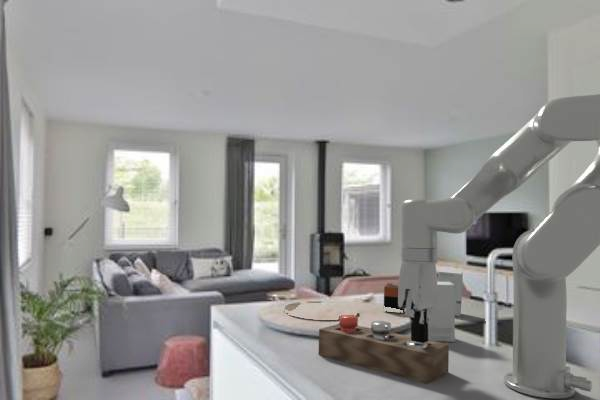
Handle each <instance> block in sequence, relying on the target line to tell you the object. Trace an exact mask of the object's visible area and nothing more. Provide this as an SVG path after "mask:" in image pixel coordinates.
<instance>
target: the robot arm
mask: <svg viewBox="0 0 600 400" xmlns="http://www.w3.org/2000/svg"><path fill="white" fill-rule="evenodd" d="M593 141H596V143H597V152H596V155H595V157H594V159H593V160H592V161H591V162H590V164H589V165H588V166H587V167H586V168H585V170H584V171H582V173H581V174H580V175H579V176H578V177H577V179H575V180H574V182H573V183H572V184H571V185H569V187H568V188H567V189H565V191H563V192H562V193H561V194H560V195H558V197H557V198H556V199H555V201H554V203H553V206H552V209H551V210H552V211H551V212H550V213H549V214H548V215H547V217H545V218H544V219H543V221H542V222H541V223H540V224H539V225H538V226H537V227H536V228H532V229H530V230H527V231H524V232H523V233H522V234H520V235H519V236H518V237H517V239H516V241H515V243H514V245H513V248H512V274H513V277H512V278H513V279H512V280H513V308H512V309H513V310H512V314H513V315H512V318H513V319H512V371H510V372H508V373H506V374H505V375H504V378H503V381H504V383H505V385H506V386H507V387H508V388H510V389H512V390H513V391H516V392H518V393H521V394H524V395H528V396H532V397H537V398H543V399H554V400H556V399H559V400H560V399H561V400H562V399H569V398H571V397H574V395H575V394H576V389H579V390H581V391H586V392H592V388H593V387H592V386H593V382H592V381H591V380H588V379H587V377H586V376H585V377H583V376H578V375H574V373H571V367H570V366H567V311H568V310H567V307H568V306H567V305H568V304H567V303H568V301H567V300H568V299H567V297H568V296H567V294H568V293H567V283H566V282H567V281H566V279H567V277H568V276H570V275H571V274H572V273H573V272H575V271H576V269H578V268H579V267H580V266H581V265H582V263H584V261H586V259H588V258H589V257H590V255H591V254H593V253H594V251H595V250H597V248H598V247H599V246H600V94H588V95H576V96H574V95H572V96H566V97H565V96H564V97H559V98H555V99H552V100H550V101H548V102H545V104H544V105H543V106H542V107H541V108H540V110H538V112H537V113H536V114H534V116H533V117H532V118H531V119H530V120H529V121H528V122H527V123H525V125H523V126H522V127H521V128H520V129H519V130H518V131H517V132H516V133H515V134H514V135H513V136H511V137H510V138H509V140H507V141H505V143H503V145H501V146H500V147H499V148H498V149H497V150H496V151H495V152H493V153H492V154H491V156H490V157H489V158H488V159H487V160H486V161H485V163H484V164H483V165H482V167H481V168H480V169H479V170H478V172H477V173H476V174H475V175H474V176H473V177H472V178H471V179H470V180H469V181H468V182H467V183H465V185H464V186H463V187H461V188H460V189H459V190H458V191H457V192H456V193H455V194H454V195H453V196H451V197H448V198H442V199H427V198H426V199H425V198H422V199H421V198H414V199H413V198H412V199H406V200H404V201H403V202H402V204H401V264H400V268H399V269H400V270H399V279H398V284H399V288H398V306H399V308H401V309H404V308H405V311H404V315H405V317H408V318H409V322H410V336H411V340H412V341H415V342H420V343H425V342H427V341H428V322H429V313H430V312H431V311H432V310H433V306H435V305H436V304H437V282H438V274H437V266H436V264H438V232H440V233H447V234H455V235H458V234H463V233H465V232H467V231H468V230H470V229H471V228H472V226H473V225H474V223H476V221H477V220H479V219H480V218H481V217H482V216H483V215H484V214H486V213H487V212H488V211H489V210H490V209H491V208H493V206H495V205H496V204H497V203H498V202H500V201H501V200H502V199H504V198H505V197H506V196H508V195H509V194H511V193H512V192H515V190H517V189H518V188H520V187H521V186H522V185H524V184H525V183H526V182H527V181H528V180H529V179H530V178H532V176H533V175H535V174H536V173H537V172H538V171H539V170H541V169H542V168H543V167H544V166H545V165H546V164H547V163H548V162H549V161H551V160H552V159H553V158H554V157H555V156H556V155H558V154H559V153H560V152H561V151H562V150H563V149H564V148H566V147H567V146H568V145H569V144H570V143H571V142H593Z"/></svg>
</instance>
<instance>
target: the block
mask: <svg viewBox="0 0 600 400" xmlns="http://www.w3.org/2000/svg"><path fill="white" fill-rule="evenodd" d="M407 341H412V340H411V335H407V334H399V333H395V332H391V333H390V334H389V339H387V340H380V339H376V338H373V333H372V332H371V327H366V326H361V325H358V326H357V327H356V332H353V333H349V332H344V331H341V326H340V325H339V323H337V324H334V325H329V326H326V327H321V328H319V329H318V355H320V356H324V357H327V358H330V359H334V360H336V361H337V360H339V361H342V362H345V363H348V364H353V365H357V366H360V367H364V368H367V369H371V370H375V371H379V372H382V373H386V374H389V375H393V376H398V377H401V378H405V379H409V380H410V381H411V380H412V381H414V382H415V381H416V382H420V383H424V384H427V385H428V384H431V383H432V382H434V381H436V380H438V379H439V378H441V377H442V376H445V375H446V374H448V373H449V357H450V355H449V354H450V353H449V349H450V344H449V343H445V342H441V341H430V340H428V341H427V342H425V343H427V347H425V348H423V349H421V348H417V347H412V346H407V345H406V344H407Z"/></svg>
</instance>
